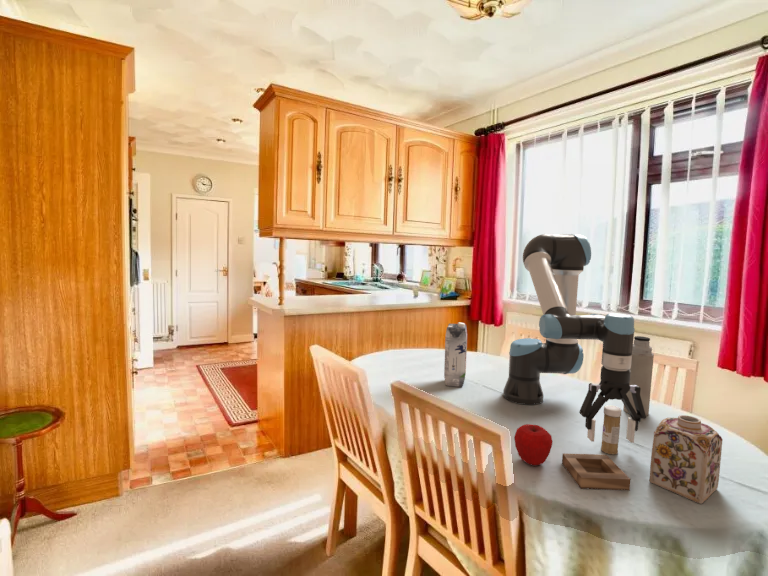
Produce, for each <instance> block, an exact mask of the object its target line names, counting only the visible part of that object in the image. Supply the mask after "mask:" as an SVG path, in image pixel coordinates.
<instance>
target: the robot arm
mask: <svg viewBox="0 0 768 576" xmlns="http://www.w3.org/2000/svg"><path fill="white" fill-rule="evenodd" d="M590 244H591V243H590V242H589V240H588V238H587V237H586V236H584V235H582V234H574V233H571V234H567V233H566V234H563V233H562V234H554V233H552V234H551V233H550V234H549V233H544V234H539V235H536V236H534V237H533V238H531V240H530V241H528V243H527V244H526V246H525V247H524V249H523V253H522V263H523V266H524V268H525V270H527V272H529V275H530V278H531V282H532V283H533V287H534V291H535V293H536V296H537V300H538V303H539V305H540V308H541V309H540V310H541V311H542V315H541V316H540V317H539V322H538V327H539V328H538V329H539V333H540V335H541V336H542V337H543V338H545V342H544V343H543V342H542V340H540V339H538V338H532V337H531V338H529V337H527V338H525V337H524V338H519V339H515V340H513V341H511V343H510V346H509V347H510V348H509V363H508V378H507V380H506V382H505V385H504V387H503V393H502V394H503V395H502V396H503V398H504V399H506V400H507V401H509V402H512V403H516V404H521V405H527V406H528V405H533V406H534V405H539V404H542V403H543V402H544V392H543V388H542V385H541V381H540V380H541V378H540V377H541V374H561V375H567V374H568V375H569V374H576V373H577V372H579V371H580V370H581V368H582V366H583V364H584V355H585V354H584V348H583V347H582V345H581V344H579V340H591V341H592V340H593V341H595V340H596V341H601V342H602V349H601V351H602V352H601V353H602V354H601V362H600V363H601V365H602V366H601V368H600V382H599V383H598V384H597V383H596V384H593V383H592V382H591V383H588V391H587V393H586V396H585V398H584V400H583V401H582V402H583V403H582V404H581V407H580V410H579V412H578V413H579V414H580V415H581V416H582V417H583V418H585V422H584V423H585V424H584V425H585V429H587V438H588V439H589V440H590V441H591V443H592V442H595V436H596V435H595V434H596V433H595V432H596V419H595V417H596V416H597V414H598V413H599V411H600V410H601V408H602V407H603V406H604V405H605V403H608V401H609V400H610V401H611V400H612V401H613V400H619V401H620V400H621V402H622V403H623V406H624V405H625V407H626V409H627V411H628V412H629V413H628V414H629V416H630V417H627V423H626V425H627V427H626V439H627V440H628V441H629V442H630V443H631V444H633V443H635V435H636V434H635V433H636V432H637V431H638V429H639V423H640V422H641V421H642V419H643V420H646V418H647V416H646V415H645V411H644V407H643V404H642V400H641V396H640V390H641V388H640V387H638V386H637V385H635V384H633V385H629V382H630V374H631V371H630V370H629V369H630V368H631V360H632V349H633V344H634V340H635V339H634V337H635V331H636V330H635V318H634V317H633V316H632V315H629V314H624V313H607V314H606V315H604V314H601V313H590V314H587V315H585V314H580V315H579V314H577V303H578V290H579V289H578V288H579V276H580V274H581V273H582V272H584V267H586V266H588V265H589V264H590V262H591V258H592V248H591V245H590ZM599 390H600V391H599ZM629 390H630V391H631V393H632V397H633V401H634V405H635V408H636V411H635V410H634V408H633V406H632V405H631V403H630V401H629V398H628V397H627V395H626V394H627V393H628V391H629ZM598 392H599V393H598ZM597 393H598V394H597ZM597 395H598V396H597ZM596 396H597V397H596ZM595 398H596V399H595ZM636 412H637V413H636Z"/></svg>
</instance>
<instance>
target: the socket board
mask: <svg viewBox="0 0 768 576" xmlns="http://www.w3.org/2000/svg"><path fill="white" fill-rule="evenodd" d="M561 458H562V459H561V464H562V466H563V467H564V468H565V470H566V471H567V473H568V474H569V476H571V479H573V481H574V482H575V483H576V484H577V486H578V488H579V489H580V490H596V491H597V490H602V491H628V492H629V491H631V490H630V489H631V478H630V477H629V476H628V475H627V474H626V473H625V472H624V471H623V470H622V469H621V468H620V467H619V466H618V465H617V464H616V462H614V461H613V459H611V458H610V457H609V456H608V455H607V454H591V453H590V454H589V453H565V452H564V453H562V457H561Z"/></svg>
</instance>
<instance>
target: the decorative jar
mask: <svg viewBox="0 0 768 576" xmlns="http://www.w3.org/2000/svg"><path fill="white" fill-rule="evenodd" d="M722 447H723V438H722V436H721V435H720V433H718V432H717V431H716V430H715V429H714V428H713V427H711V426H710V425H708V424H706V423H702V421H701V419H699V418H697V417H694V416H691V415H678V417H667V418H664V419H662V420H660V422H659V424H658V426H656V429H655V431H653V440H652V448H651V456H650V466H649V467H650V469H649V480H648V481H649V483H651V484H653V485H654V486H658V487H659V488H663V489H664V490H666V491H667V490H668V491H670V492H671V493H674V494H675V495H676V494H677V495H679V496H680V497H683V498H684V499H685V498H686V499H688V500H691V501H692V502H695V503H697V504H700V505H702V504H703V503H705V502H706V501H707V500H708V499H709V498H710V497H711V496H712V495H713V493H715V491H717V490H718V488H719V480H720V472H721V460H722V450H723V449H722Z"/></svg>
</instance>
